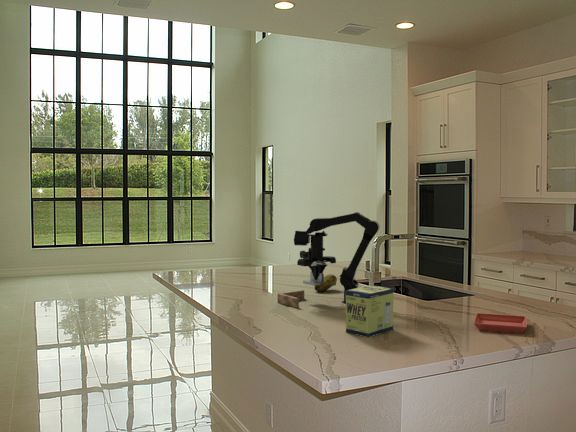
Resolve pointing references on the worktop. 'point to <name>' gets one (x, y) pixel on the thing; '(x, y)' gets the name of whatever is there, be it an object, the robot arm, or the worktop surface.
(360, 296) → the protein box
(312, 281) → the bracket
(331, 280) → the potato
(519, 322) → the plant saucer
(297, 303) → the wooden corner frame
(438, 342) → the worktop surface
